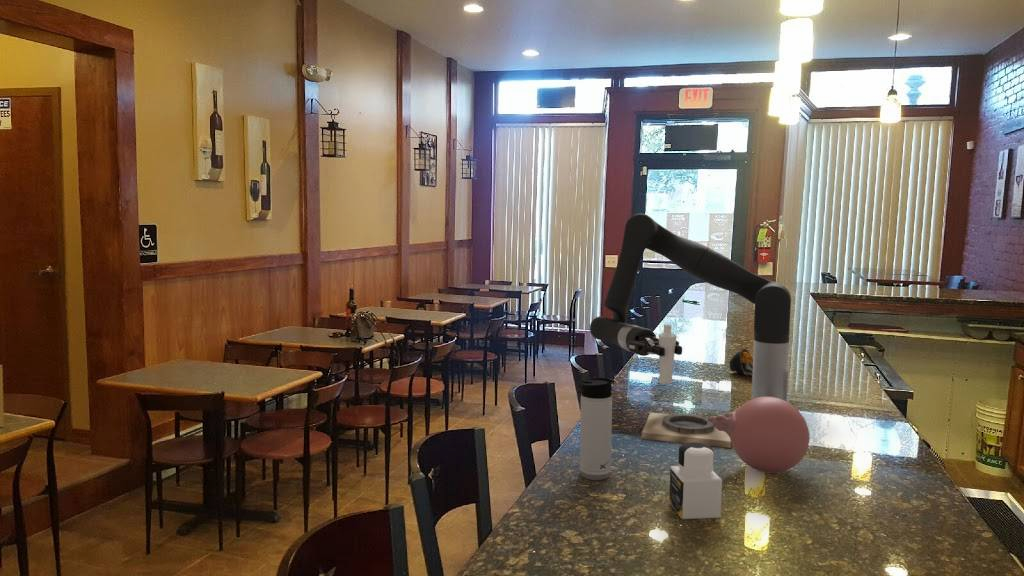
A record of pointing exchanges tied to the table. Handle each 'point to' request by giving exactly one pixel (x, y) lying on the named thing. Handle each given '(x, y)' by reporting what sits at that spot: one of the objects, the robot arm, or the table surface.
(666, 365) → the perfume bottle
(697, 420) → the hub board
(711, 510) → the medicine bottle
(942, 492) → the table surface
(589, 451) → the travel mug
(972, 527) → the table surface
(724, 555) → the table surface
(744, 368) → the black and orange lump
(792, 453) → the balloon
